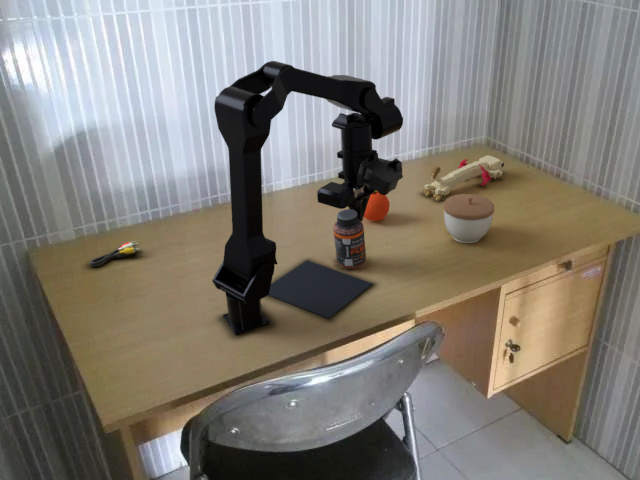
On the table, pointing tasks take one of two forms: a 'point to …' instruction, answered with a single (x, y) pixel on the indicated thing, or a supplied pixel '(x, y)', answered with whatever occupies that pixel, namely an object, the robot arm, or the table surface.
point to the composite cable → (116, 253)
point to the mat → (317, 289)
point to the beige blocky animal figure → (464, 175)
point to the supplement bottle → (349, 240)
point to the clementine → (377, 207)
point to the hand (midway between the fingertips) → (359, 221)
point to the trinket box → (468, 217)
